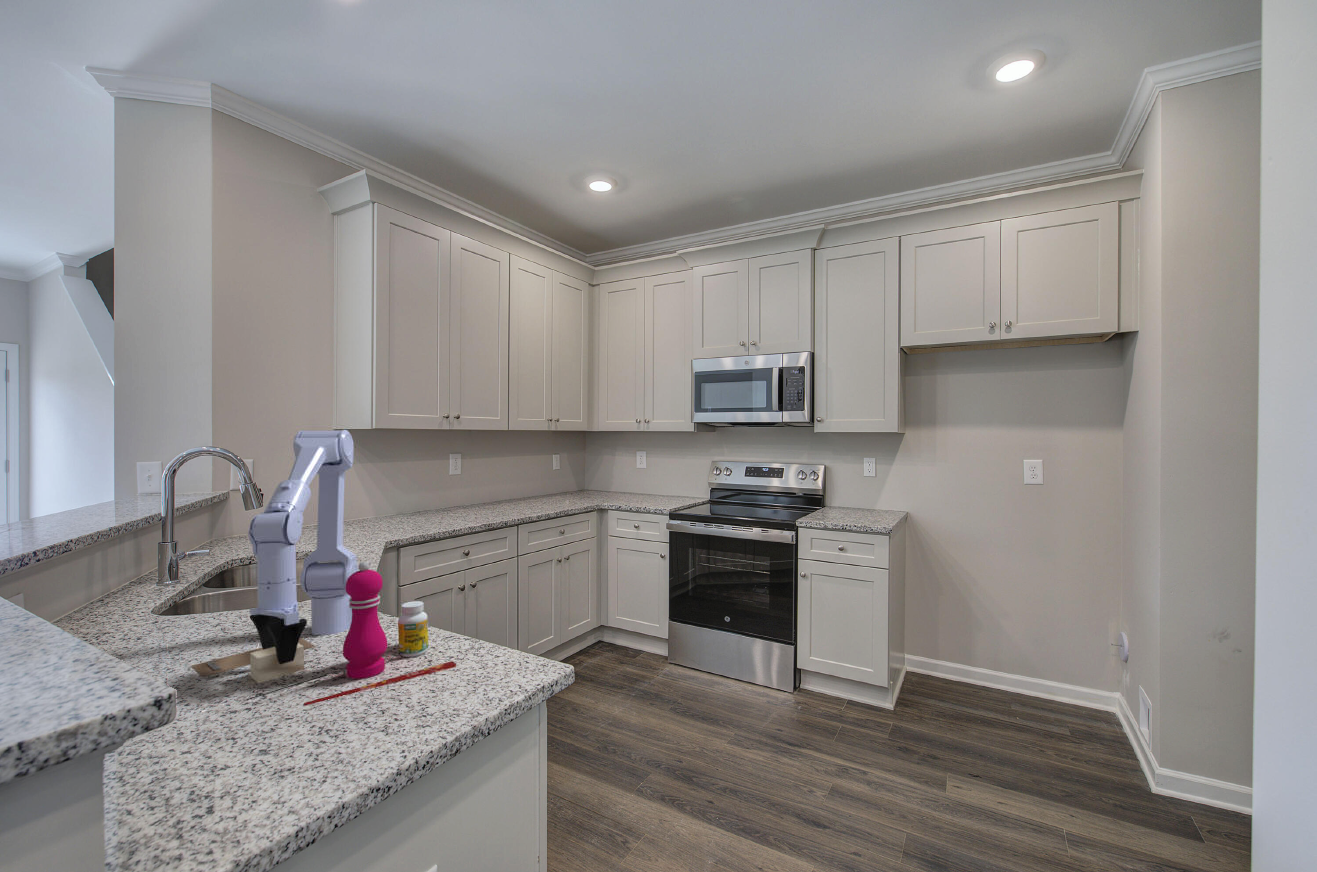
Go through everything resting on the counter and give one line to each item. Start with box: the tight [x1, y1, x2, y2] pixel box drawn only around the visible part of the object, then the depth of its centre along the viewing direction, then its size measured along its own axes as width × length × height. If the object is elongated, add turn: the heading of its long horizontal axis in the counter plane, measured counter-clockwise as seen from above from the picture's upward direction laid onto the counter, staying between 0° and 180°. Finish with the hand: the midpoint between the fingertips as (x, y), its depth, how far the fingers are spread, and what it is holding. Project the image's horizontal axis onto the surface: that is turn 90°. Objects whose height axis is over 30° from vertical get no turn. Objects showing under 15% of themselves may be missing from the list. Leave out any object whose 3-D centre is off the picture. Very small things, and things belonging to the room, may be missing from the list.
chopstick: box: [303, 661, 457, 707], centre depth 99 cm, size 2×24×1 cm, turn 130°
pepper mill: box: [342, 561, 388, 680], centre depth 104 cm, size 7×7×20 cm
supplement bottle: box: [397, 600, 429, 658], centre depth 113 cm, size 5×5×10 cm
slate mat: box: [246, 674, 328, 701], centre depth 101 cm, size 12×10×1 cm
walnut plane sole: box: [190, 637, 317, 678], centre depth 109 cm, size 18×8×1 cm, turn 140°
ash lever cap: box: [250, 643, 305, 684], centre depth 101 cm, size 7×4×5 cm, turn 141°
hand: (278, 656), depth 101 cm, fingers open, 7 cm apart
